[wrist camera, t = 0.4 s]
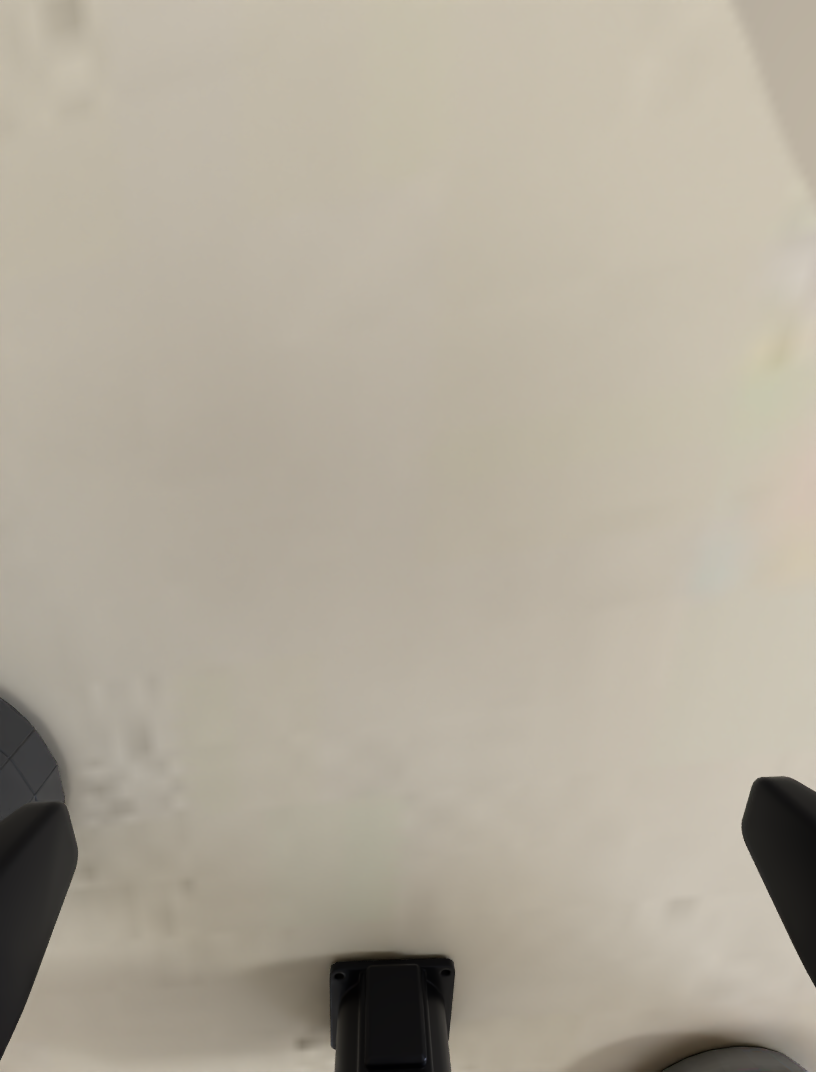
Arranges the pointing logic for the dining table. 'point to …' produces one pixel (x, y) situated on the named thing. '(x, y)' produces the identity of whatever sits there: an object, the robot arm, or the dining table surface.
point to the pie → (737, 1061)
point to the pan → (24, 764)
